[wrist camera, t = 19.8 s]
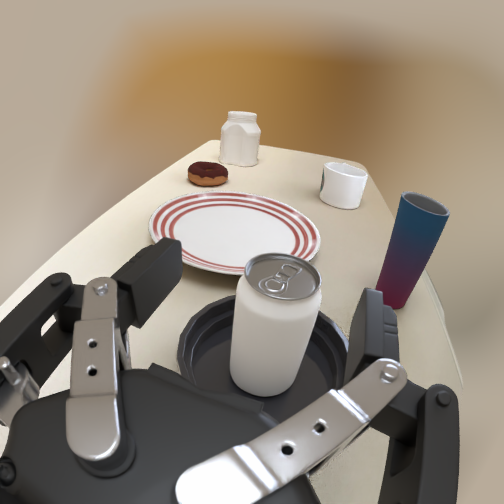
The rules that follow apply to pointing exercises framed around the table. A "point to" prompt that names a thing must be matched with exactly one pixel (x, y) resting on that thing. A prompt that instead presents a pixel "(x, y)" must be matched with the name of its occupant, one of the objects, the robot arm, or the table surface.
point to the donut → (207, 173)
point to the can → (273, 321)
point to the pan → (219, 351)
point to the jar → (240, 139)
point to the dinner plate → (233, 229)
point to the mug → (342, 185)
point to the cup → (410, 246)
